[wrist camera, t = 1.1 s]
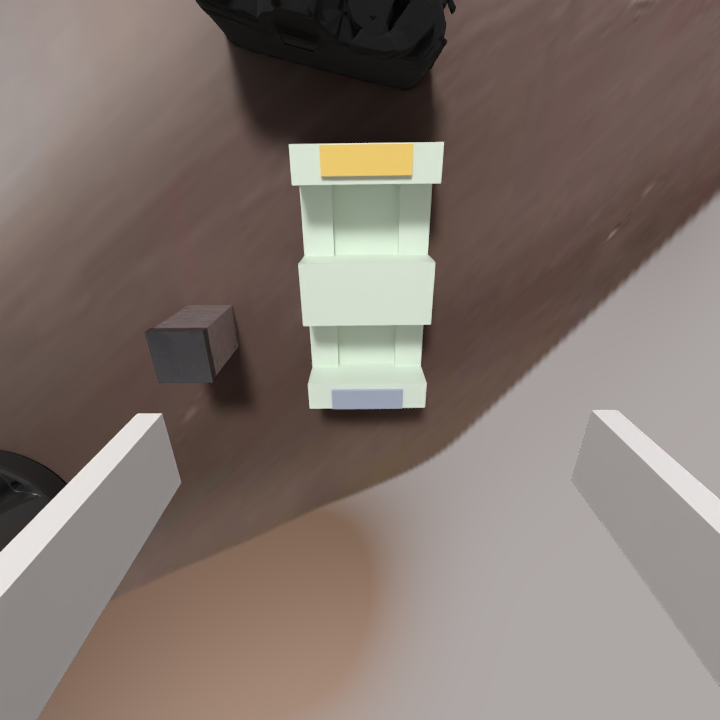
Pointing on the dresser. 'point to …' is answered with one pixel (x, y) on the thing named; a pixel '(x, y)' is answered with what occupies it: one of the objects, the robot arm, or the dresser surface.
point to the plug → (193, 344)
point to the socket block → (366, 269)
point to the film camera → (341, 34)
